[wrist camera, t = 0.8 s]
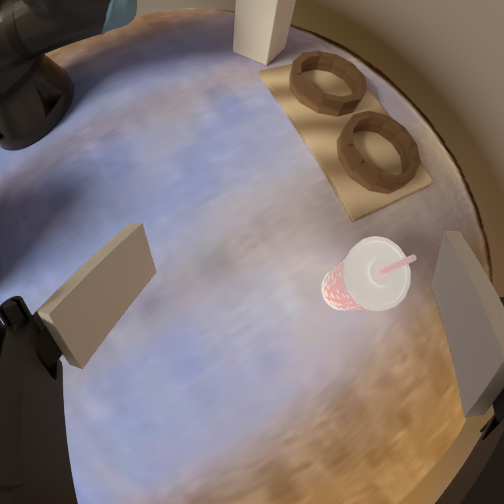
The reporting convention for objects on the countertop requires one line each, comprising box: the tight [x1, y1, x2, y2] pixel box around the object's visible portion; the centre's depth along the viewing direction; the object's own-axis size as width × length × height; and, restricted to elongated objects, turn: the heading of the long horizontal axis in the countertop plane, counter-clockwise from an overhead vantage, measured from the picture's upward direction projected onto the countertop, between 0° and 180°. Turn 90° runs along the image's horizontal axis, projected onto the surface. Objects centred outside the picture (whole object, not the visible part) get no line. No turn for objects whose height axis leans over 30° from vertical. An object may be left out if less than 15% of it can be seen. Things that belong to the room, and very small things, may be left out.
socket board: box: [259, 51, 433, 222], centre depth 36 cm, size 24×14×4 cm, turn 26°
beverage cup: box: [322, 236, 416, 311], centre depth 25 cm, size 6×6×14 cm
